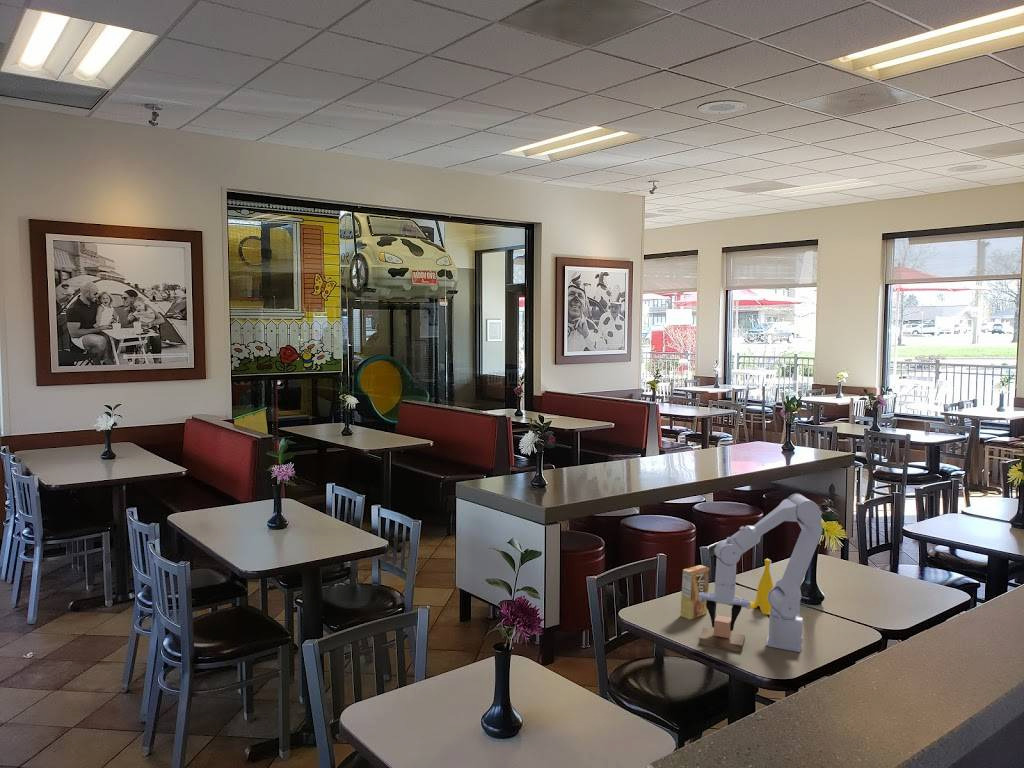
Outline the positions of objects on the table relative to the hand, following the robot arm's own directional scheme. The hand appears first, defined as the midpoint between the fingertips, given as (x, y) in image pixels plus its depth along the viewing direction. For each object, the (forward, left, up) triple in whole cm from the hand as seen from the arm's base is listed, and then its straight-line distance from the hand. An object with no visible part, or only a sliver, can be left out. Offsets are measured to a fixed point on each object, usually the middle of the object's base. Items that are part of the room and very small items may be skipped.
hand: (722, 628), depth 225 cm
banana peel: (-7, -35, -5) cm, 36 cm away
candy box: (+11, -18, -5) cm, 22 cm away
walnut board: (0, 0, -4) cm, 4 cm away
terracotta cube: (0, 0, -2) cm, 2 cm away
